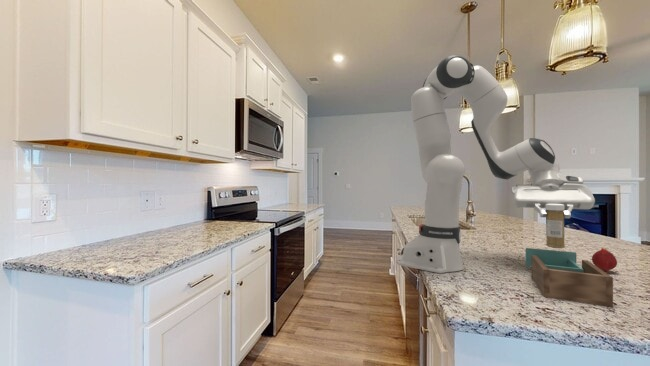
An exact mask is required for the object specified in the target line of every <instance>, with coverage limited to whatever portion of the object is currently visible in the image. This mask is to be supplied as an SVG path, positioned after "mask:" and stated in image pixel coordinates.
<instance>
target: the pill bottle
mask: <svg viewBox="0 0 650 366" xmlns="http://www.w3.org/2000/svg"><path fill="white" fill-rule="evenodd" d="M544 210H546V213H547V216H546V217H545V236H546V244H545V246H546V247H549V248H552V249H565V247H566V246H565V218H564V211H566V209H565V208H564V204H546V205H545V208H544Z"/></svg>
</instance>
